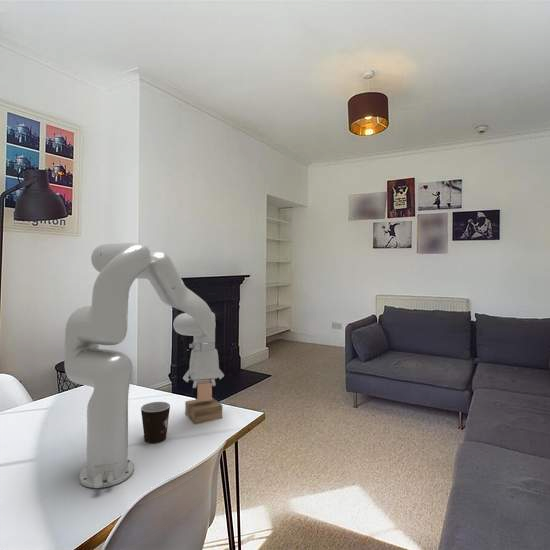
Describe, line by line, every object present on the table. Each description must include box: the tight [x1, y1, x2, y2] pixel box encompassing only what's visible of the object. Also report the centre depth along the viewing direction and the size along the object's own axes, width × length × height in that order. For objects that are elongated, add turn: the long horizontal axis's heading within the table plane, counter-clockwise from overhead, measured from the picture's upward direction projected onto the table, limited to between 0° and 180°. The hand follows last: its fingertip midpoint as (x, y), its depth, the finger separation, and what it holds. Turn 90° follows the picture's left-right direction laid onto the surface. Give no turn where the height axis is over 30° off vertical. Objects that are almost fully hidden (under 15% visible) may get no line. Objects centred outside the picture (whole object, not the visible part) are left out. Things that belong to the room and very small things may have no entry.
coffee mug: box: [140, 401, 171, 445], centre depth 113 cm, size 12×9×10 cm
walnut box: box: [184, 397, 223, 425], centre depth 132 cm, size 10×10×5 cm
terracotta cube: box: [197, 379, 213, 402], centre depth 132 cm, size 5×5×6 cm
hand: (203, 396), depth 132 cm, fingers closed on terracotta cube, 4 cm apart
